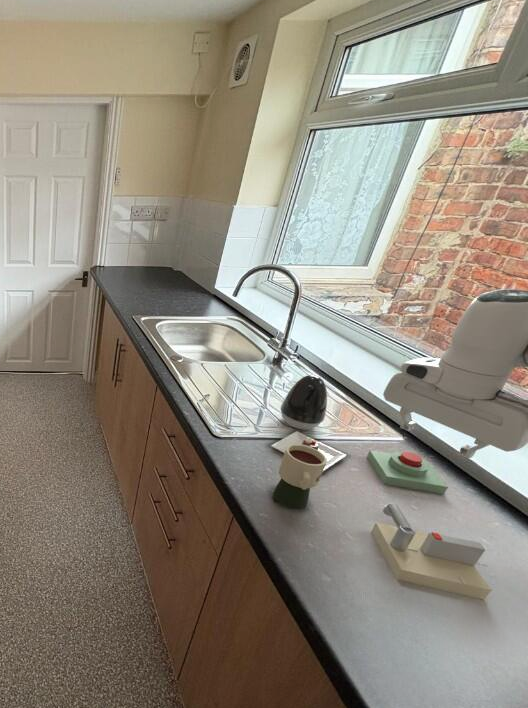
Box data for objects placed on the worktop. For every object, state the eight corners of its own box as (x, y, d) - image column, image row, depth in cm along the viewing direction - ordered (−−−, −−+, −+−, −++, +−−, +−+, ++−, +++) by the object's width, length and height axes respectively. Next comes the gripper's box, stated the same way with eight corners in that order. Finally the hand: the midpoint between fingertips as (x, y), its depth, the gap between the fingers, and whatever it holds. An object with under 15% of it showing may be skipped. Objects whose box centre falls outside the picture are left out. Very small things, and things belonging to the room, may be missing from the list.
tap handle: (469, 558, 73) (480, 541, 71) (474, 566, 71) (486, 548, 69) (419, 548, 75) (429, 531, 73) (424, 555, 73) (434, 538, 72)
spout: (389, 520, 81) (398, 502, 78) (408, 553, 74) (419, 533, 72) (375, 517, 81) (384, 499, 79) (393, 549, 75) (403, 530, 72)
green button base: (421, 466, 99) (428, 452, 98) (443, 494, 91) (452, 480, 89) (366, 457, 103) (372, 444, 101) (383, 483, 94) (390, 470, 93)
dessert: (345, 458, 102) (352, 442, 100) (319, 476, 97) (326, 459, 95) (295, 434, 112) (300, 419, 110) (269, 449, 106) (274, 433, 104)
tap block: (459, 553, 78) (468, 539, 76) (498, 608, 68) (509, 594, 67) (369, 534, 82) (375, 521, 80) (393, 583, 73) (402, 569, 71)
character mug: (312, 525, 84) (333, 475, 78) (272, 515, 87) (290, 466, 81) (303, 489, 93) (321, 443, 87) (267, 481, 96) (282, 435, 90)
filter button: (414, 459, 96) (418, 453, 96) (422, 469, 93) (425, 463, 92) (396, 456, 97) (399, 450, 97) (403, 465, 94) (406, 459, 94)
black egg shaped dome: (272, 425, 116) (287, 377, 109) (282, 410, 122) (297, 364, 116) (315, 439, 109) (334, 390, 102) (323, 423, 116) (341, 375, 109)
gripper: (560, 403, 67) (516, 470, 73) (412, 354, 84) (386, 412, 90) (540, 411, 65) (496, 479, 71) (392, 360, 82) (367, 418, 88)
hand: (434, 441), depth 81 cm, fingers open, 8 cm apart
